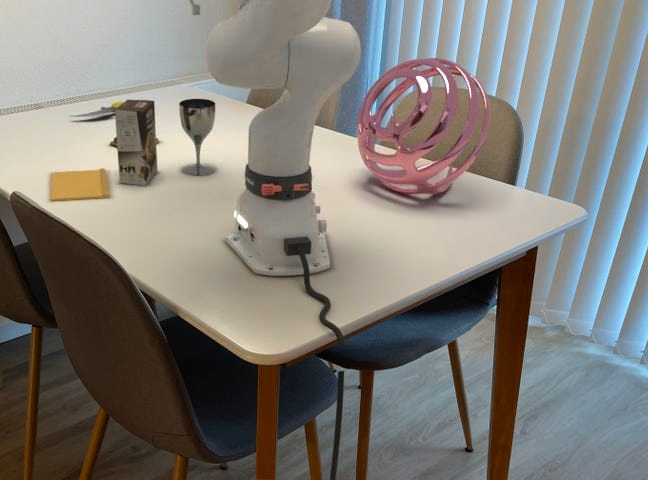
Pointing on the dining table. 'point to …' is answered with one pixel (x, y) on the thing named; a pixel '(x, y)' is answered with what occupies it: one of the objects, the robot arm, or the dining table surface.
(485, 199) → the dining table surface
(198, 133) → the wine glass
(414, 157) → the spiral basket
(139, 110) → the coffee box
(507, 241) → the dining table surface
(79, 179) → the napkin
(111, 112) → the knife
